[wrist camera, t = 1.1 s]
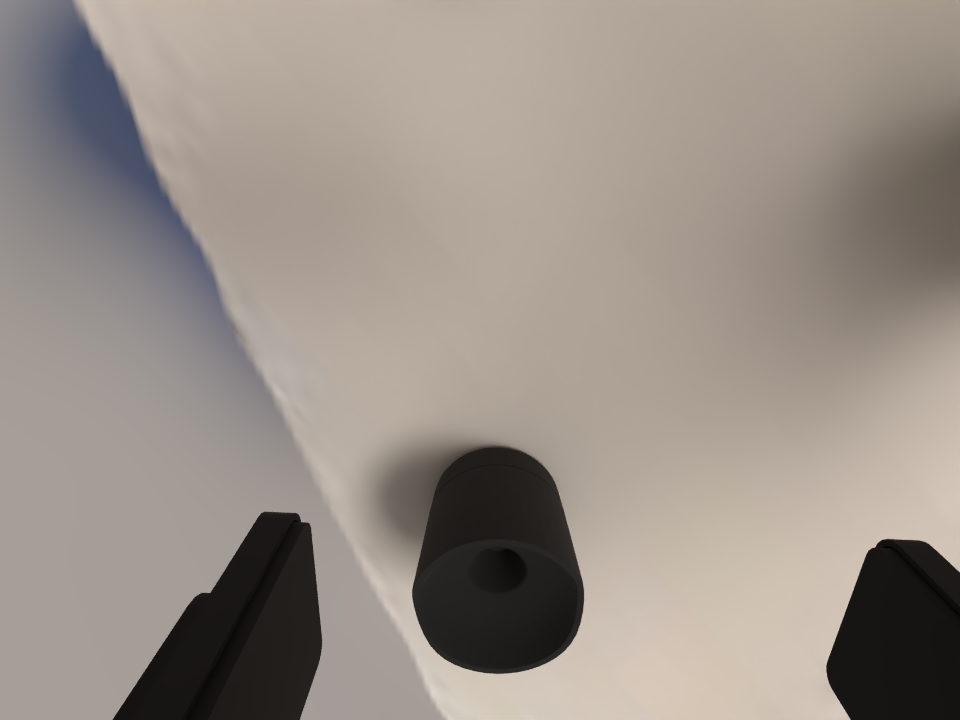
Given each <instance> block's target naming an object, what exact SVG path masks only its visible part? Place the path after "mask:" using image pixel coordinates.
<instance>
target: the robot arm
mask: <svg viewBox="0 0 960 720" xmlns="http://www.w3.org/2000/svg"><path fill="white" fill-rule="evenodd" d="M321 649H322V635H321V624H320V614H319V605H318V594H317V584H316V574H315V564H314V554H313V544H312V534H311V527H310V524H309V523H303V522H301V520H300V516H299V515H298V514H297V513H279V512H263V513H261V514H260V516H259V517H258V518H257V520H256V522H255V523H254V525H253V527H252V528H251V529H250V531H249V533H248V534H247V536H246V537H245V539H244V541H243V542H242V544H241V545H240V547H239V549H238V550H237V552H236V554H235V555H234V556H233V558H232V560H231V561H230V563H229V564H228V566H227V568H226V569H225V571H224V573H223V574H222V576H221V577H220V579H219V580H218V582H217V583H216V585H215V587H214V588H213V590H212V591H211V593H201V594H199V595H197V596H196V597H195V598H194V599H193V600H192V601H191V603H190V604H189V605H188V606H187V608H186V610H185V611H184V612H183V614H182V616H181V617H180V619H179V620H178V622H177V623H176V625H175V626H174V628H173V629H172V631H171V632H170V634H169V635H168V637H167V638H166V640H165V641H164V643H163V644H162V646H161V647H160V649H159V650H158V652H157V653H156V655H155V656H154V658H153V659H152V661H151V662H150V664H149V665H148V667H147V669H146V670H145V672H144V673H143V675H142V676H141V678H140V679H139V681H138V682H137V684H136V685H135V687H134V688H133V690H132V691H131V693H130V694H129V696H128V697H127V699H126V700H125V702H124V704H123V705H122V706H121V708H120V709H119V711H118V712H117V714H116V715H115V717H114V719H113V720H300V717H301V714H302V711H303V708H304V705H305V702H306V699H307V696H308V693H309V691H310V687H311V685H312V682H313V679H314V676H315V673H316V670H317V667H318V664H319V660H320V656H321ZM826 668H827V677H828V681H829V684H830V686H831V688H832V690H833V691H834V693H835V695H836V696H837V698H838V700H839V701H840V703H841V704H842V706H843V708H844V709H845V711H846V713H847V714H848V716H849V718H850V719H851V720H960V572H959V571H958V570H956V569H955V568H954V567H953V566H952V565H951V564H950V563H949V562H948V561H947V560H946V559H945V558H944V557H943V556H942V555H940V554H939V553H938V552H937V551H936V550H935V549H934V548H933V547H932V546H930V545H929V544H928V543H926V542H923V541H918V540H895V539H885V540H881V541H880V542H879V543H877V545H876V547H875V548H872V549H870V550H869V551H868V553H867V555H866V557H865V560H864V563H863V565H862V568H861V571H860V574H859V576H858V579H857V582H856V585H855V587H854V590H853V593H852V596H851V598H850V601H849V604H848V607H847V609H846V612H845V615H844V618H843V620H842V623H841V626H840V629H839V631H838V634H837V637H836V640H835V642H834V645H833V648H832V651H831V653H830V656H829V659H828V661H827V666H826Z"/></svg>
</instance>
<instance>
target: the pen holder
mask: <svg viewBox="0 0 960 720" xmlns="http://www.w3.org/2000/svg"><path fill="white" fill-rule="evenodd" d="M412 597H413V603H414V607H415V612H416V615H417V618H418V621H419V624H420V627H421V629H422V631H423V634H424V636H425V637H426V639H427V641H428V642H429V644H430V646H431V647H432V648H433V649H434V650H435V651H436V652H437V653H438V654H439V655H440V656H442V657H443V658H444V659H445V660H447V661H449V662H451V663H453V664H454V665H457V666H460V667H462V668H465V669H469V670H472V671H477V672H483V673H494V674H505V673H515V672H521V671H525V670H529V669H533V668H536V667H539V666H541V665H543V664H545V663H548V662H549V661H551V660H553V659H555V658H556V657H558V656H559V655H560V654H561V653H563V652H564V651H565V650H566V649H567V647H568V646H569V645H570V644H571V643H572V641H573V639H574V638H575V636H576V634H577V631H578V628H579V626H580V622H581V618H582V613H583V605H584V588H583V581H582V578H581V574H580V570H579V566H578V562H577V559H576V555H575V551H574V547H573V544H572V540H571V536H570V532H569V528H568V525H567V521H566V517H565V514H564V510H563V507H562V503H561V500H560V496H559V493H558V490H557V487H556V484H555V482H554V480H553V478H552V476H551V475H550V473H549V472H548V471H547V470H546V469H545V467H544V466H543V465H541V464H540V463H539V462H538V461H537V460H535V459H533V458H532V457H530V456H528V455H526V454H524V453H521V452H518V451H515V450H510V449H503V448H489V449H483V450H478V451H475V452H472V453H469V454H467V455H465V456H463V457H461V458H459V459H458V460H457V461H455V462H454V463H453V464H452V465H451V466H450V467H449V468H447V470H446V471H445V472H444V474H443V475H442V477H441V478H440V480H439V482H438V485H437V487H436V490H435V494H434V498H433V502H432V506H431V510H430V514H429V518H428V523H427V527H426V532H425V536H424V540H423V545H422V549H421V554H420V558H419V562H418V567H417V571H416V576H415V580H414V584H413V589H412Z"/></svg>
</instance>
